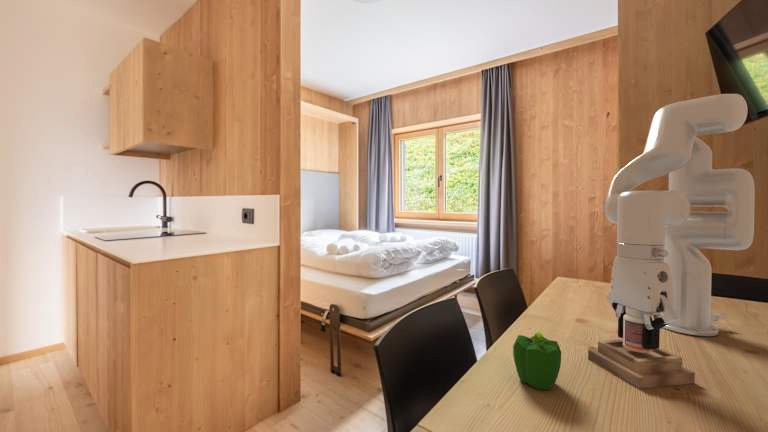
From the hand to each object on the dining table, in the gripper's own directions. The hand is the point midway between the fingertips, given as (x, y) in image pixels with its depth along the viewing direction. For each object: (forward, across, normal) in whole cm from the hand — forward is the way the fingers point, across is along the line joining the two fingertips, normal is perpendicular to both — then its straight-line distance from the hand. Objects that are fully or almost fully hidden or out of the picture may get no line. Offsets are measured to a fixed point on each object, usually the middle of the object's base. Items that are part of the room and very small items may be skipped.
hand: (637, 341), depth 67 cm
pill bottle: (+2, 0, 0) cm, 2 cm away
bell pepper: (+6, -1, +23) cm, 24 cm away
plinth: (+6, 0, 0) cm, 6 cm away
